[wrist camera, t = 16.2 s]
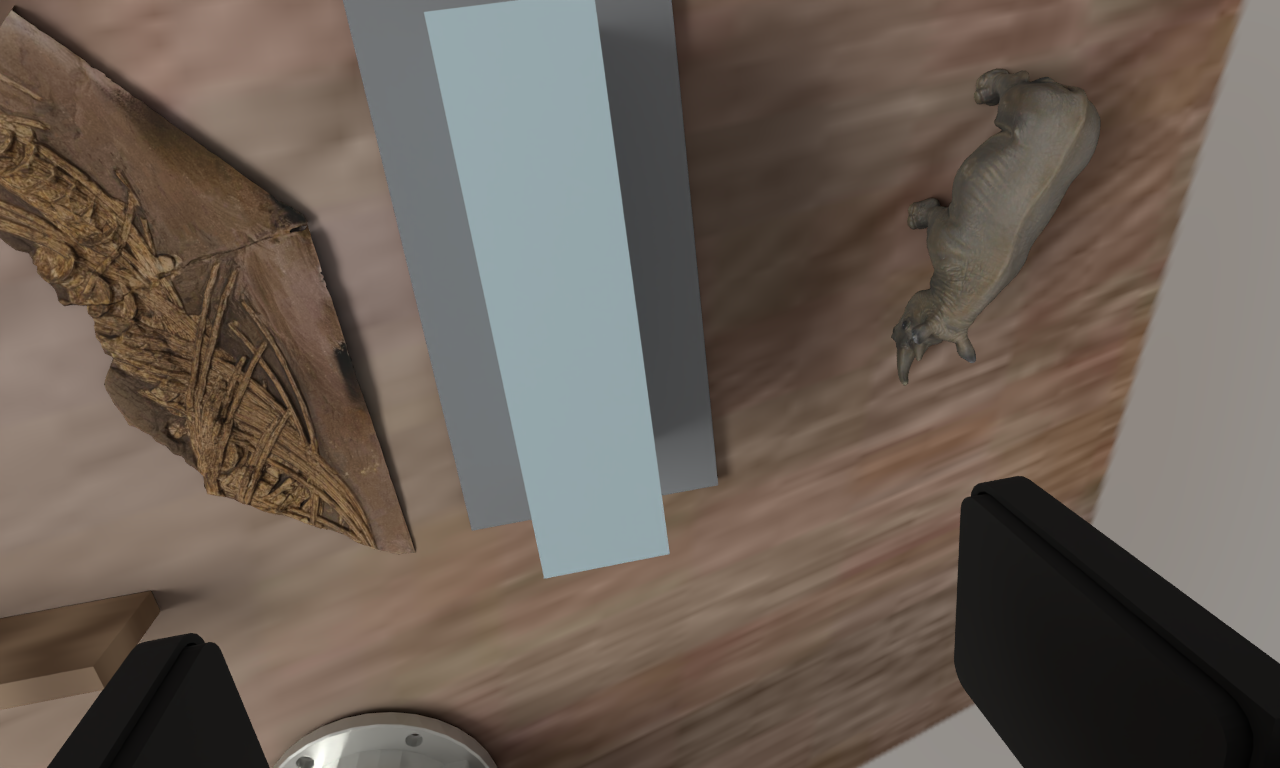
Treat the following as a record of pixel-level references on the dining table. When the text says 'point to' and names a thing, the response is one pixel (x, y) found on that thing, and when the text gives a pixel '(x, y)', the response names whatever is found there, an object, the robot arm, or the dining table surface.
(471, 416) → the mat
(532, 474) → the pale blue rectangular block
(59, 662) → the open wooden box
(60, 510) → the dining table surface
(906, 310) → the rhino figurine
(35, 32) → the fossil stone slab
